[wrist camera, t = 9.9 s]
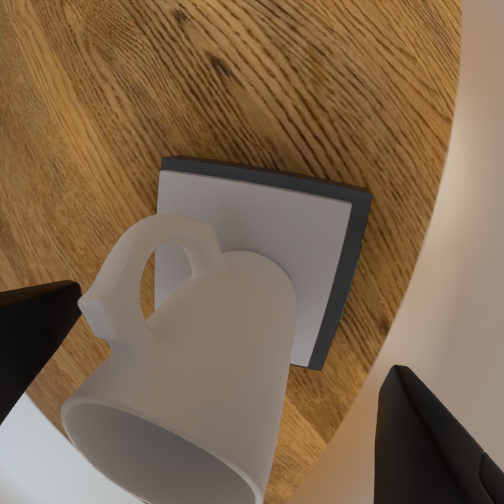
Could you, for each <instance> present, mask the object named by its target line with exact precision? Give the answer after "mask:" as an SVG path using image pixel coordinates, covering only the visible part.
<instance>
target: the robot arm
mask: <svg viewBox="0 0 504 504" xmlns="http://www.w3.org/2000/svg"><path fill="white" fill-rule="evenodd" d="M81 297H82V294H81V287H80V285H79V284H78V283H77V282H74V281H71V280H63V281H58V282H52V283H47V284H42V285H36V286H31V287H26V288H20V289H15V290H10V291H4V292H0V425H1V424H2V422H3V421H4V419H5V418H6V417H7V415H8V414H9V412H10V411H11V409H12V408H13V407H14V405H15V404H16V403H17V401H18V400H19V398H20V397H21V396H22V394H23V393H24V392H25V390H26V389H27V388H28V386H29V385H30V384H31V382H32V381H33V380H34V378H35V377H36V376H37V375H38V373H39V372H40V371H41V369H42V368H43V367H44V366H45V364H46V363H47V362H48V361H49V359H50V358H51V357H52V356H53V354H54V353H55V352H56V350H57V349H58V348H59V346H60V345H61V344H62V342H63V341H64V339H65V337H66V336H67V335H68V333H69V332H70V330H71V329H72V327H73V326H74V324H75V323H76V321H77V320H78V318H79V317H80V316H81V314H82V312H81V310H80V308H79V306H78V300H79V299H80V298H81ZM376 426H377V427H376V436H375V478H374V480H375V481H374V504H504V473H503V471H501V469H500V468H499V467H498V466H497V465H496V464H495V462H494V461H493V460H492V459H491V458H490V457H489V456H488V454H487V453H486V452H483V451H484V450H483V449H482V448H481V446H480V445H479V444H478V443H477V442H476V441H475V440H474V438H473V437H472V436H471V435H470V434H469V433H468V432H467V431H466V429H465V428H464V427H463V426H462V425H461V424H460V423H459V422H458V420H457V419H456V418H455V417H454V416H453V415H452V414H451V413H450V412H449V410H447V408H446V407H445V406H444V405H443V404H442V403H441V402H440V401H439V399H438V398H437V397H436V396H435V395H434V394H433V393H432V392H431V391H430V390H429V389H428V388H427V386H426V385H425V384H424V383H423V382H422V381H421V380H420V379H419V378H418V377H417V376H416V375H415V374H414V372H413V371H412V370H411V369H410V368H409V367H407V366H401V365H394V366H393V367H392V368H391V369H390V371H389V373H388V375H387V377H386V379H385V380H384V382H383V384H382V386H381V388H380V392H379V400H378V413H377V425H376Z"/></svg>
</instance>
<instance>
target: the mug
mask: <svg viewBox="0 0 504 504" xmlns="http://www.w3.org/2000/svg"><path fill="white" fill-rule="evenodd" d="M169 241H171V242H175V243H177V244H179V245H180V246H181V247H182V248H183V249H184V250H185V252H186V254H187V256H188V259H189V262H190V265H191V269H192V276H190V277H189V278H188V279H187V280H186V281H185V282H184V283H183V284H182V285H181V286H180V287H179V288H178V289H177V290H176V291H175V292H174V293H173V294H172V295H171V296H170V297H169V298H168V299H167V300H166V301H165V302H164V303H163V304H162V305H161V306H160V307H158V308H157V309H156V310H155V311H154V312H153V313H152V314H151V315H150V316H149V317H148V318H147V319H146V320H145V319H144V317H143V313H142V309H141V305H140V284H141V278H142V274H143V270H144V268H145V265H146V263H147V261H148V259H149V257H150V255H151V254H152V252H153V251H154V250H155V249H156V248H157V247H158V246H160V245H161V244H163V243H165V242H169ZM78 306H79V308H80V310H81V312H82V313H83V315H84V316H85V318H86V320H87V322H88V324H89V326H90V328H91V330H92V332H93V333H94V335H95V336H96V337H98V338H100V339H106V340H107V342H108V343H109V345H110V347H111V352H112V353H111V354H110V355H109V356H108V357H107V358H106V359H105V360H104V361H103V362H102V364H101V365H100V366H99V367H98V368H97V369H96V370H95V371H94V372H93V373H92V374H91V375H90V376H89V377H88V378H87V379H86V380H85V381H84V382H83V383H82V385H81V386H80V387H79V388H78V389H77V390H76V391H75V393H74V394H73V395H72V396H71V397H70V398H68V399H67V400H66V401H65V402H64V403H63V405H62V408H61V419H62V423H63V426H64V429H65V431H66V433H67V435H68V437H69V438H70V440H71V441H72V443H73V444H74V446H75V447H76V448H77V450H78V451H79V452H80V453H81V455H82V456H83V457H84V458H85V459H86V460H87V461H88V462H89V463H90V464H91V465H92V466H93V467H94V468H95V469H96V470H98V471H99V472H100V473H101V474H102V475H104V476H105V477H106V478H107V479H109V480H110V481H112V482H113V483H114V484H116V485H117V486H119V487H120V488H122V489H123V490H125V491H126V492H128V493H130V494H131V495H133V496H135V497H137V498H139V499H141V500H143V501H145V502H147V503H149V504H263V498H264V494H265V490H266V487H267V483H268V479H269V476H270V472H271V467H272V463H273V458H274V454H275V449H276V443H277V438H278V432H279V427H280V421H281V415H282V410H283V404H284V397H285V391H286V385H287V379H288V372H289V366H290V359H291V353H292V346H293V340H294V333H295V324H296V314H297V296H296V292H295V289H294V286H293V284H292V282H291V280H290V278H289V277H288V275H287V274H286V273H285V271H284V270H283V269H282V268H281V267H280V266H279V265H277V264H276V263H275V262H273V261H272V260H270V259H269V258H267V257H265V256H263V255H260V254H257V253H254V252H249V251H229V252H225V253H221V250H220V247H219V244H218V240H217V236H216V232H215V229H214V227H213V226H212V225H211V224H209V223H206V222H202V221H199V220H195V219H192V218H189V217H185V216H182V215H178V214H171V213H163V214H156V215H152V216H149V217H146V218H144V219H141V220H140V221H138V222H137V223H135V224H134V225H132V226H131V227H130V228H129V229H128V230H127V231H126V232H125V233H124V234H123V235H122V236H121V237H120V239H119V240H118V241H117V243H116V244H115V246H114V247H113V249H112V250H111V252H110V253H109V255H108V257H107V258H106V260H105V262H104V264H103V266H102V267H101V269H100V271H99V273H98V275H97V277H96V279H95V281H94V283H93V284H92V286H91V287H90V289H89V290H88V291H87V292H86V293H85V294H84V295H83V296H82V297H81V298H80V299H79V300H78Z"/></svg>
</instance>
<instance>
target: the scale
mask: <svg viewBox="0 0 504 504" xmlns="http://www.w3.org/2000/svg"><path fill="white" fill-rule="evenodd" d="M372 198H373V194H372V193H371V192H370V191H369V190H368V189H367V188H363V187H358V186H354V185H350V184H345V183H341V182H336V181H332V180H327V179H322V178H317V177H312V176H307V175H302V174H297V173H292V172H286V171H281V170H275V169H269V168H263V167H257V166H251V165H245V164H239V163H232V162H225V161H218V160H210V159H203V158H195V157H186V156H170V157H163V158H162V165H161V171H160V176H159V188H158V203H157V214H163V213H171V214H178V215H182V216H185V217H189V218H192V219H195V220H199V221H202V222H206V223H209V224H211V225H212V226H213V227H214V229H215V232H216V236H217V240H218V244H219V247H220V250H221V253H225V252H229V251H249V252H254V253H257V254H260V255H263V256H265V257H267V258H269V259H270V260H272V261H273V262H275V263H276V264H277V265H279V266H280V267H281V268H282V269H283V270H284V271H285V273H286V274H287V275H288V277H289V278H290V280H291V282H292V284H293V286H294V289H295V292H296V296H297V314H296V324H295V333H294V340H293V346H292V353H291V359H290V365H293V366H298V367H303V368H308V369H313V370H318V371H321V370H322V368H323V365H324V362H325V359H326V357H327V354H328V351H329V348H330V345H331V342H332V340H333V337H335V334H336V331H337V328H338V325H339V323H340V320H341V317H342V313H343V310H344V307H345V304H346V301H347V298H348V294H349V291H350V288H351V284H352V281H353V278H354V274H355V271H356V267H357V263H358V260H359V255H360V251H361V248H362V239H363V236H364V232H365V228H366V223H367V219H368V215H369V211H370V206H371V202H372ZM190 276H192V269H191V265H190V262H189V259H188V256H187V254H186V252H185V250H184V249H183V248H182V247H181V246H180V245H179V244H177V243H175V242H171V241H169V242H165V243H163V244H161V245H160V246H158V247H157V248H156V249H155V310H156V309H157V308H158V307H160V306H161V305H162V304H163V303H164V302H165V301H166V300H167V299H168V298H169V297H170V296H171V295H172V294H173V293H174V292H175V291H176V290H177V289H178V288H179V287H180V286H181V285H182V284H183V283H184V282H185V281H186V280H187V279H188V278H189V277H190Z"/></svg>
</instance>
